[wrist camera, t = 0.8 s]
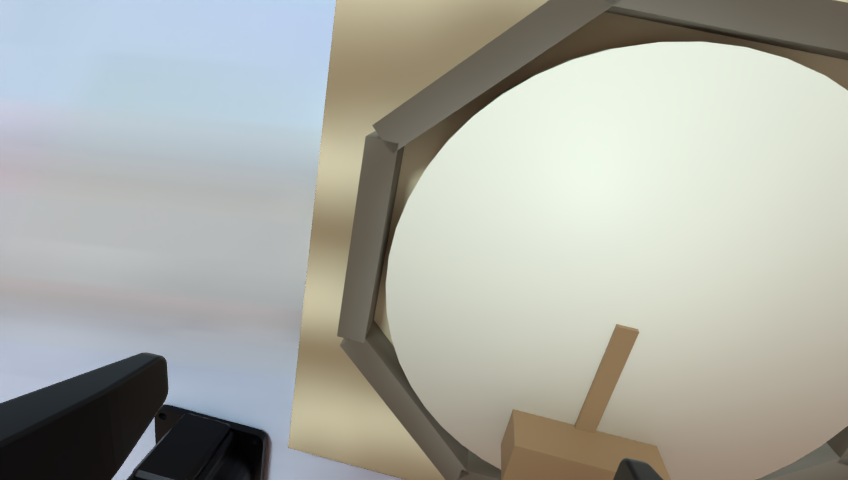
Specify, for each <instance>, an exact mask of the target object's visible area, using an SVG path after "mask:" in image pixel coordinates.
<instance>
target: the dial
mask: <svg viewBox="0 0 848 480" xmlns="http://www.w3.org/2000/svg"><path fill="white" fill-rule="evenodd" d="M386 309H387V317H388V323H389V328H390V334H391V339H392V342H393V345H394V348H395V351H396V354H397V357H398V360H399V363H400V365H401V367H402V369H403V371H404V373H405V375H406V377H407V379H408V381H409V383H410V385H411V387H412V388H413V390H414V391H415V393H416V394H417V396H418V397H419V399H420V400H421V402H422V403H423V405H424V406H425V408H426V409H427V410H428V411H429V412H430V414H431V415H432V416H433V417H434V418H435V419H436V421H437V422H438V423H439V424H440V425H441V426H442V427H443V428H444V429H445V430H446V431H447V432H448V433H449V434H450V435H452V436H453V437H454V438H455V439H456V440H457V441H458V442H459V443H460V444H462V445H463V446H464V447H466V448H467V449H469V450H470V451H471V452H473V453H474V454H476V455H477V456H478V457H480V458H481V459H483V460H484V461H486V462H488V463H490V464H492V465H493V466H495V467H497V468H499V469H500V470H501V480H613V478H614V476H615V473H616V471H617V468H618V466H619V463H620V462H621V460H622V459H623V458H631V459H636V460H641V461H644V462H647V463H648V464H649V465H650V466H651V467H652V468H653V469H654V470H655V471H656V472H657V473H658V474H659V475H660V476H661V477H662V478H663V479H664V480H756V479H758V478H761V477H764V476H766V475H768V474H770V473H772V472H775V471H777V470H779V469H781V468H783V467H785V466H787V465H790V464H792V463H794V462H795V461H797V460H799V459H800V458H802V457H804V456H805V455H807V454H809V453H810V452H812V451H814V450H815V449H817V448H819V447H820V446H822V445H823V444H824V443H826V442H827V441H828V440H830V439H831V438H832V437H834V436H835V435H836V434H838V433H839V432H840V431H842V430H843V429H844V428H846V427H847V426H848V90H846V89H845V88H843V87H842V86H840V85H839V84H837V83H836V82H834V81H833V80H831V79H830V78H828V77H827V76H825V75H823V74H821V73H818V72H816V71H814V70H812V69H810V68H807V67H805V66H803V65H801V64H798V63H796V62H794V61H792V60H790V59H787V58H784V57H780V56H776V55H773V54H769V53H766V52H762V51H758V50H755V49H751V48H748V47H741V46H733V45H726V44H718V43H710V42H657V43H650V44H642V45H635V46H628V47H621V48H614V49H607V50H602V51H599V52H595V53H592V54H588V55H584V56H581V57H577V58H573V59H570V60H567V61H564V62H562V63H560V64H557V65H555V66H552V67H550V68H548V69H545V70H543V71H540V72H538V73H536V74H533V75H532V76H530V77H528V78H526V79H525V80H523V81H521V82H519V83H518V84H516V85H514V86H512V87H511V88H509V89H507V90H505V91H504V92H502V93H501V94H499V95H498V96H497V97H495V98H494V99H493V100H491V101H490V102H489V103H487V104H486V105H485V106H483V107H482V108H481V109H479V110H478V111H477V112H475V113H474V114H473V115H472V116H471V117H470V118H469V119H468V120H467V121H466V122H465V123H464V124H463V125H462V126H461V127H460V128H459V129H458V130H457V131H456V132H455V133H454V134H453V135H452V136H451V137H450V138H449V139H448V140H447V142H446V143H445V144H444V145H443V147H442V148H441V149H440V151H439V152H438V153H437V154H436V156H435V157H434V158H433V160H432V161H431V162H430V164H429V165H428V167H427V168H426V170H425V171H424V173H423V174H422V176H421V178H420V180H419V181H418V183H417V185H416V186H415V188H414V190H413V192H412V193H411V195H410V197H409V198H408V200H407V203H406V205H405V208H404V210H403V212H402V215H401V217H400V220H399V222H398V225H397V227H396V230H395V234H394V238H393V242H392V246H391V250H390V254H389V258H388V268H387V277H386Z"/></svg>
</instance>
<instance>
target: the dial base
mask: <svg viewBox="0 0 848 480" xmlns="http://www.w3.org/2000/svg"><path fill="white" fill-rule="evenodd" d="M657 42H710V43H718V44H726V45H733V46H741V47H748V48H751V49H755V50H758V51H762V52H766V53H769V54H773V55H776V56H780V57H784V58H787V59H790V60H792V61H794V62H796V63H798V64H801V65H803V66H805V67H807V68H810V69H812V70H814V71H816V72H818V73H821V74H823V75H825V76H827V77H828V78H830V79H831V80H833V81H834V82H836V83H837V84H839V85H840V86H842V87H843V88H845V89H846V90H848V0H336V7H335V16H334V25H333V35H332V44H331V53H330V62H329V72H328V81H327V90H326V100H325V109H324V118H323V128H322V137H321V146H320V156H319V165H318V174H317V184H316V193H315V202H314V212H313V221H312V230H311V239H310V249H309V258H308V267H307V277H306V286H305V295H304V305H303V314H302V323H301V333H300V342H299V351H298V361H297V370H296V379H295V389H294V398H293V407H292V416H291V426H290V435H289V444H288V448H291V449H294V450H298V451H302V452H305V453H309V454H313V455H316V456H320V457H324V458H327V459H331V460H335V461H338V462H342V463H346V464H350V465H353V466H357V467H361V468H364V469H368V470H372V471H375V472H379V473H383V474H386V475H390V476H394V477H397V478H401V479H405V480H501V470H500V469H499V468H497V467H495V466H493V465H492V464H490V463H488V462H486V461H484V460H483V459H481V458H480V457H478V456H477V455H476V454H474V453H473V452H471V451H470V450H469V449H467V448H466V447H464V446H463V445H462V444H460V443H459V442H458V441H457V440H456V439H455V438H454V437H453V436H452V435H450V434H449V433H448V432H447V431H446V430H445V429H444V428H443V427H442V426H441V425H440V424H439V423H438V422H437V421H436V419H435V418H434V417H433V416H432V415H431V414H430V412H429V411H428V410H427V409H426V408H425V406H424V405H423V403H422V402H421V400H420V399H419V397H418V396H417V394H416V393H415V391H414V390H413V388H412V387H411V385H410V383H409V381H408V379H407V377H406V375H405V373H404V371H403V369H402V367H401V365H400V363H399V360H398V357H397V354H396V351H395V348H394V345H393V342H392V339H391V334H390V328H389V323H388V317H387V309H386V277H387V268H388V258H389V254H390V250H391V246H392V242H393V238H394V234H395V230H396V227H397V225H398V222H399V220H400V217H401V215H402V212H403V210H404V208H405V205H406V203H407V200H408V198H409V197H410V195H411V193H412V192H413V190H414V188H415V186H416V185H417V183H418V181H419V180H420V178H421V176H422V174H423V173H424V171H425V170H426V168H427V167H428V165H429V164H430V162H431V161H432V160H433V158H434V157H435V156H436V154H437V153H438V152H439V151H440V149H441V148H442V147H443V145H444V144H445V143H446V142H447V140H448V139H449V138H450V137H451V136H452V135H453V134H454V133H455V132H456V131H457V130H458V129H459V128H460V127H461V126H462V125H463V124H464V123H465V122H466V121H467V120H468V119H469V118H470V117H471V116H472V115H473V114H474V113H475V112H477V111H478V110H479V109H481V108H482V107H483V106H485V105H486V104H487V103H489V102H490V101H491V100H493V99H494V98H495V97H497V96H498V95H499V94H501V93H502V92H504V91H505V90H507V89H509V88H511V87H512V86H514V85H516V84H518V83H519V82H521V81H523V80H525V79H526V78H528V77H530V76H532V75H533V74H536V73H538V72H540V71H543V70H545V69H548V68H550V67H552V66H555V65H557V64H560V63H562V62H564V61H567V60H570V59H573V58H577V57H581V56H584V55H588V54H592V53H595V52H599V51H602V50H607V49H614V48H621V47H628V46H635V45H642V44H650V43H657ZM756 480H848V426H847V427H846V428H844V429H843V430H842V431H840V432H839V433H838V434H836V435H835V436H834V437H832V438H831V439H830V440H828V441H827V442H826V443H824V444H823V445H822V446H820V447H819V448H817V449H815V450H814V451H812V452H810V453H809V454H807V455H805V456H804V457H802V458H800V459H799V460H797V461H795V462H794V463H792V464H790V465H787V466H785V467H783V468H781V469H779V470H777V471H775V472H772V473H770V474H768V475H766V476H764V477H761V478H758V479H756Z"/></svg>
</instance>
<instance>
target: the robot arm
mask: <svg viewBox="0 0 848 480" xmlns="http://www.w3.org/2000/svg"><path fill="white" fill-rule="evenodd" d="M167 394H168V375H167V362H166V359H165V358H164V357H163V356H160V355H155V354H151V353H140V354H137V355H135V356H132V357H129V358H126V359H123V360H121V361H118V362H115V363H112V364H109V365H107V366H104V367H101V368H98V369H95V370H93V371H90V372H87V373H84V374H81V375H79V376H76V377H73V378H70V379H67V380H65V381H62V382H59V383H56V384H53V385H51V386H48V387H45V388H42V389H39V390H37V391H34V392H31V393H28V394H25V395H23V396H20V397H17V398H14V399H11V400H9V401H6V402H3V403H0V480H111V479H112V478H113V477H114V475H115V474H116V473H117V471H118V470H119V469H120V467H121V466H122V464H123V463H124V462H125V460H126V459H127V457H128V456H129V454H130V453H131V451H132V450H133V448H134V447H135V445H136V444H137V442H138V441H139V439H140V438H141V436H142V435H143V433H144V432H145V430H146V429H147V427H148V426H149V424H150V423H151V421H152V420H153V418H154V417H155V437H156V445H155V446H154V448H153V449H152V450H151V451H150V452H149V453H148V454H147V455H146V457H145V458H144V459H143V460H142V461H141V462H140V463H139V464H138V465H137V467H136V468H135V469H134V470H133V473H132V474H131V475H130V476H129V477H128V478H127V480H263V475H264V463H265V451H266V439H267V438H266V435H265V433H264V432H263V431H261V430H259V429H255V428H251V427H247V426H244V425H240V424H236V423H233V422H229V421H225V420H222V419H218V418H214V417H210V416H207V415H203V414H199V413H196V412H192V411H188V410H184V409H181V408H177V407H173V406H170V405H163V403H164V402H165V400H166V397H167ZM613 480H664V479H663V478H662V477H661V476H660V475H659V474H658V473H657V472H656V471H655V470H654V469H653V468H652V467H651V466H650V465H649V464H648V463H647V462H644V461H641V460H636V459H631V458H623V459H622V460H621V462H620V463H619V466H618V468H617V471H616V473H615V476H614V478H613Z"/></svg>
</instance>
